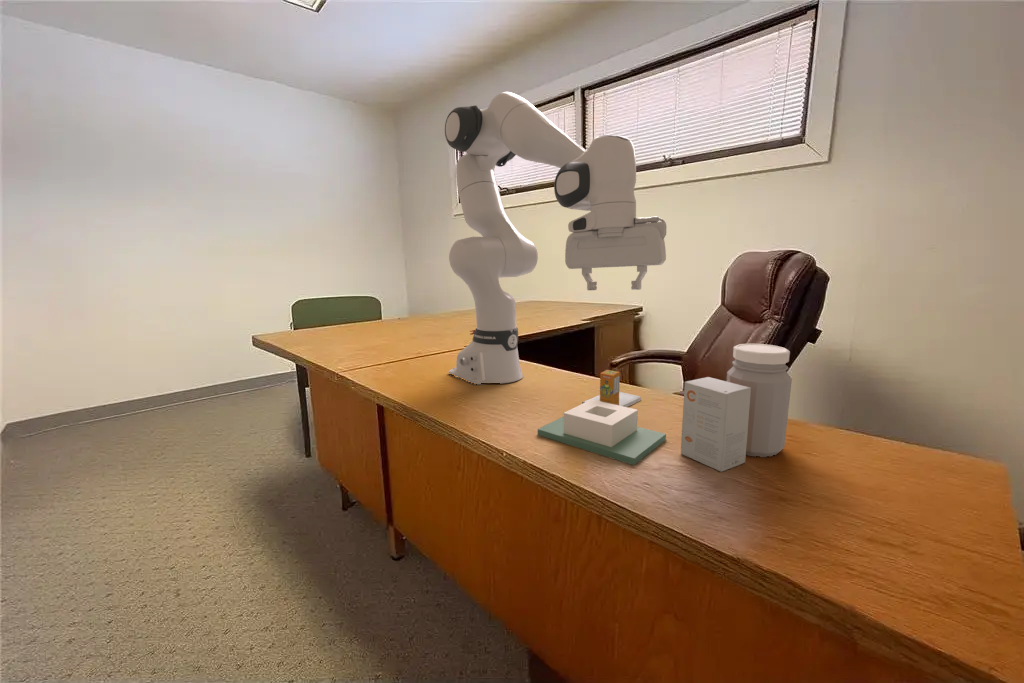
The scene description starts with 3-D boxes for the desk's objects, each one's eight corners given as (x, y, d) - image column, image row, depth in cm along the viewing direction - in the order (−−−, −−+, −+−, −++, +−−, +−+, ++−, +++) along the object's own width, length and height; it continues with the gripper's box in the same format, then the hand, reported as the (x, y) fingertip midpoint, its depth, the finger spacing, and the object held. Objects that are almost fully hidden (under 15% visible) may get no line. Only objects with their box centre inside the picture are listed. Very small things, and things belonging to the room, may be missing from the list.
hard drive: (613, 409, 96) (641, 395, 105) (581, 401, 102) (610, 388, 111) (612, 417, 97) (640, 402, 106) (581, 408, 102) (610, 395, 111)
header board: (537, 434, 86) (537, 409, 85) (574, 416, 96) (574, 392, 95) (634, 465, 73) (635, 435, 72) (665, 439, 83) (667, 413, 82)
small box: (745, 463, 73) (752, 387, 71) (720, 473, 70) (727, 393, 68) (703, 445, 80) (708, 375, 78) (679, 453, 77) (683, 381, 75)
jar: (718, 451, 78) (726, 350, 74) (724, 432, 86) (731, 340, 82) (784, 464, 73) (795, 356, 69) (783, 442, 81) (794, 345, 78)
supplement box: (597, 418, 95) (598, 372, 93) (605, 413, 97) (606, 369, 95) (612, 421, 92) (613, 374, 90) (619, 416, 95) (621, 371, 93)
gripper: (670, 216, 86) (669, 288, 88) (574, 226, 97) (575, 289, 100) (662, 213, 81) (661, 290, 83) (561, 224, 92) (562, 291, 94)
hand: (613, 290), depth 91 cm, fingers open, 8 cm apart
